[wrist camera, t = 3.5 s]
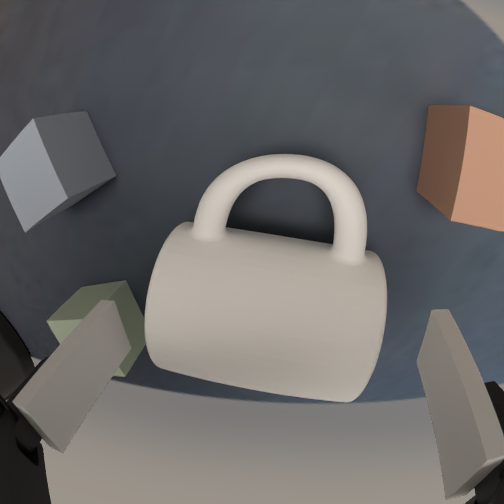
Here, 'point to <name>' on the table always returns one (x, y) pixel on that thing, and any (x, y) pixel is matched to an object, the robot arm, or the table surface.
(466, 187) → the terracotta block
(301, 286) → the mug
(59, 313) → the sage block
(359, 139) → the table surface
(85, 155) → the slate block
